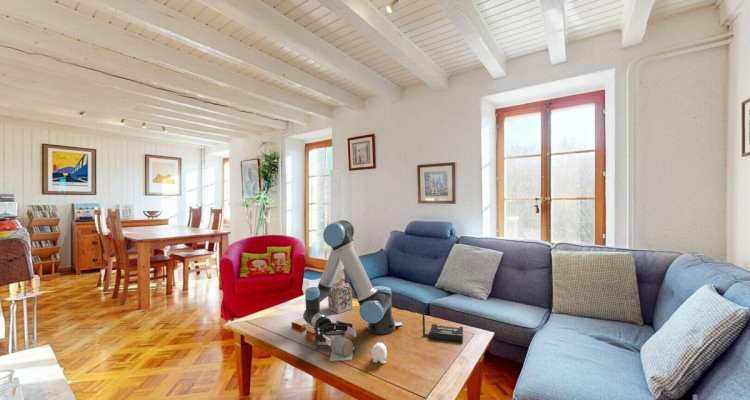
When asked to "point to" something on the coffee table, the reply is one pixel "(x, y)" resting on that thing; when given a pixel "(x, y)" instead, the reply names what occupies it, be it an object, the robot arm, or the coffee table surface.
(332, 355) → the grey-green mat
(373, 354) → the white figurine
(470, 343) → the coffee table surface
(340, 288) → the decorative jar
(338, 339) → the ceramic mug
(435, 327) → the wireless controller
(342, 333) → the square frame
